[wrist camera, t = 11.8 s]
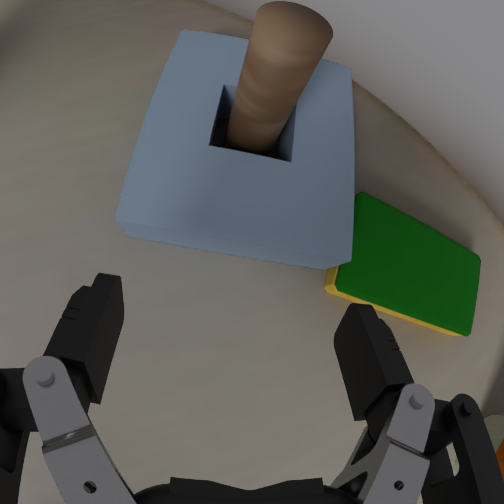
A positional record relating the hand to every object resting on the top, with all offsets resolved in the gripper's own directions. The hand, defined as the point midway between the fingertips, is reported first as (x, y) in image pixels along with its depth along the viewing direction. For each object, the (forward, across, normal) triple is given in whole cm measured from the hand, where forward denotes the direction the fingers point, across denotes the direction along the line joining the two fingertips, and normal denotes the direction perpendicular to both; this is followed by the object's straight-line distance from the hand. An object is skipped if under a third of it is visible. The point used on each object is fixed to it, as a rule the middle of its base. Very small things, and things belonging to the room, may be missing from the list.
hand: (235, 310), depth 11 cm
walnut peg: (+14, 0, -2) cm, 14 cm away
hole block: (+14, 0, -2) cm, 14 cm away
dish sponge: (+10, -14, +4) cm, 18 cm away
